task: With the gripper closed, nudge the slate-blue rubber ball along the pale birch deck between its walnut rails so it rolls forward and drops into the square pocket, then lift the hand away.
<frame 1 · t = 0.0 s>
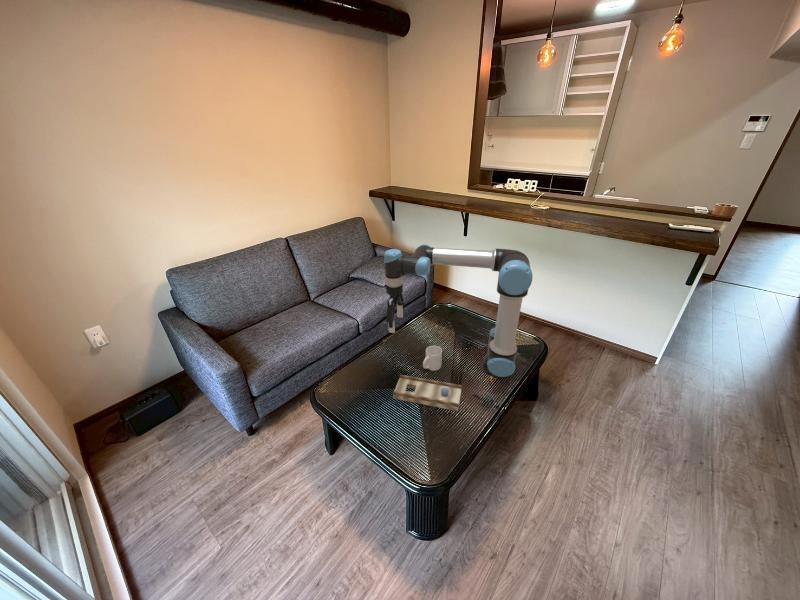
hand: (396, 324, 144), 28 cm above the table, fingers open, 13 cm apart
mug: (431, 367, 158), on the table
deck: (427, 394, 142), on the table
ball: (444, 391, 137), point 4 cm above the table, touching deck
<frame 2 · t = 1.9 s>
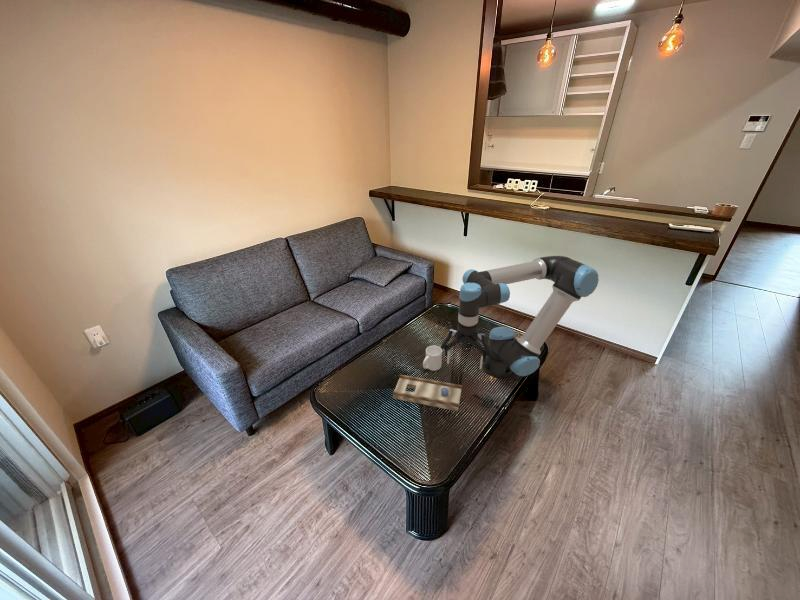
hand: (464, 364, 127), 22 cm above the table, fingers open, 13 cm apart
nothing on the table moved.
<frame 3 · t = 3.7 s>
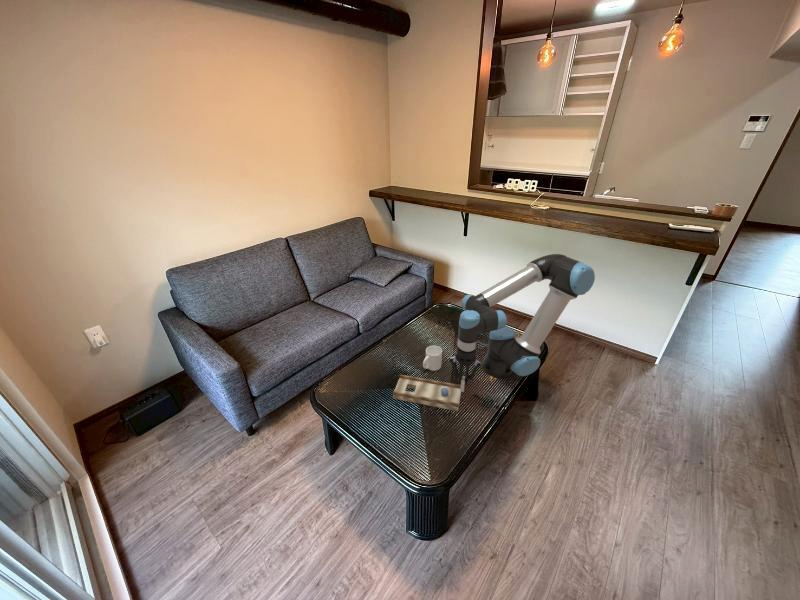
hand: (462, 389, 134), 8 cm above the table, fingers closed
nothing on the table moved.
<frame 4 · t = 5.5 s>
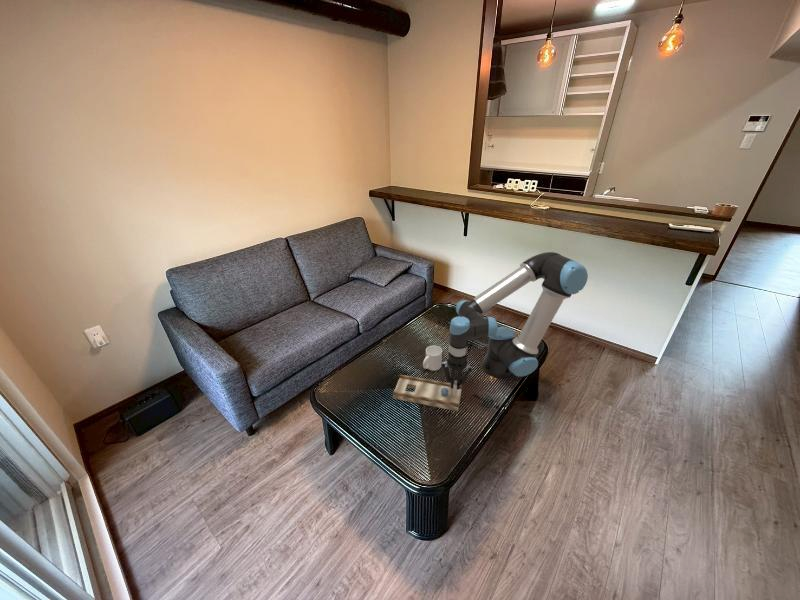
hand: (454, 393, 136), 4 cm above the table, fingers closed
nothing on the table moved.
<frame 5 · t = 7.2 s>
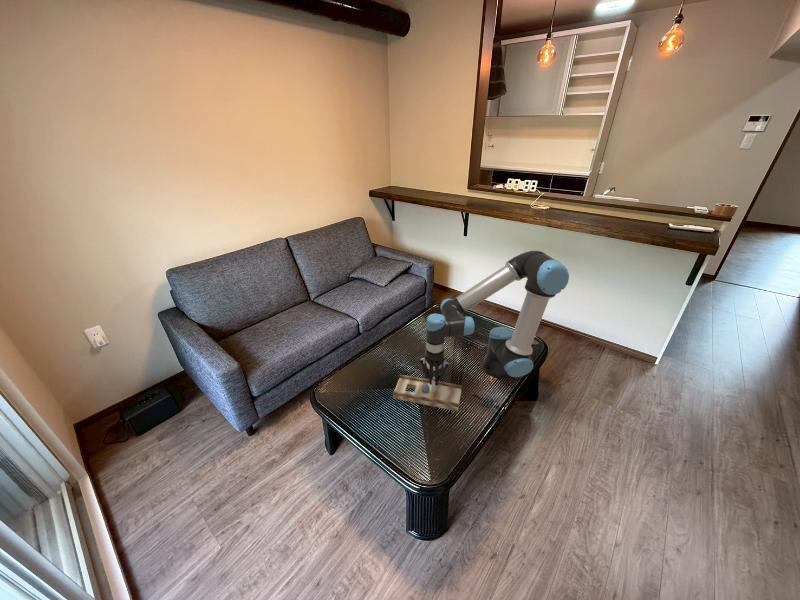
hand: (433, 389, 139), 4 cm above the table, fingers closed
ball: (425, 388, 140), point 4 cm above the table, tilted 73°, touching deck
everything else where it was.
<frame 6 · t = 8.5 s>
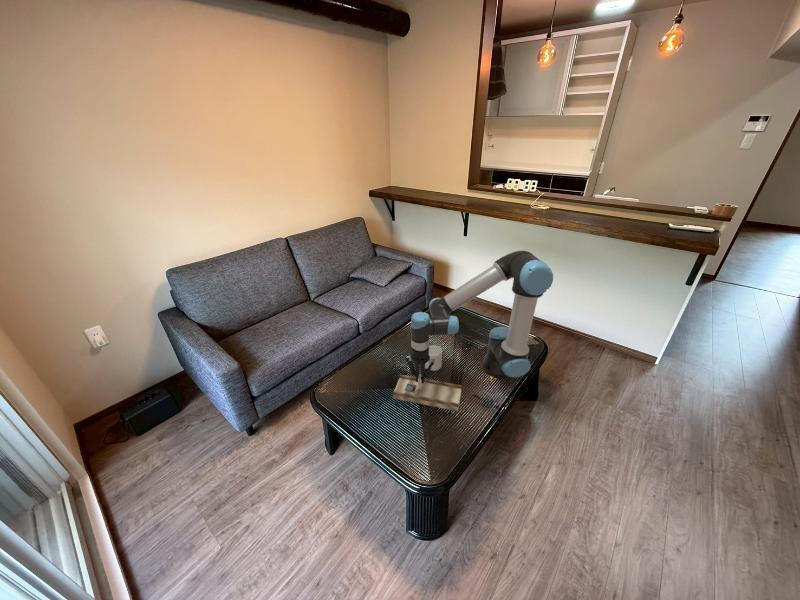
hand: (420, 386, 140), 4 cm above the table, fingers closed
ball: (409, 389, 143), point 2 cm above the table, tilted 107°
everything else where it was.
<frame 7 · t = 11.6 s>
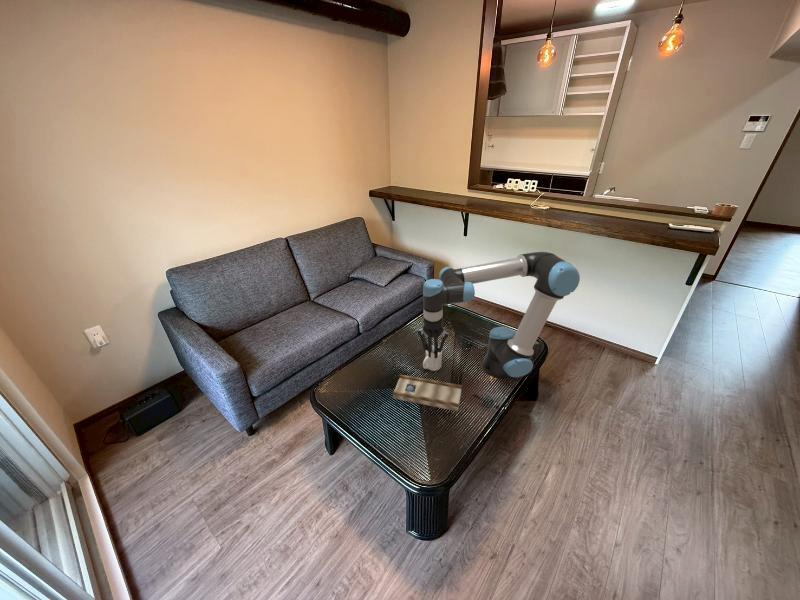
hand: (433, 362, 132), 20 cm above the table, fingers closed
ball: (409, 389, 143), point 2 cm above the table, tilted 113°
everything else where it was.
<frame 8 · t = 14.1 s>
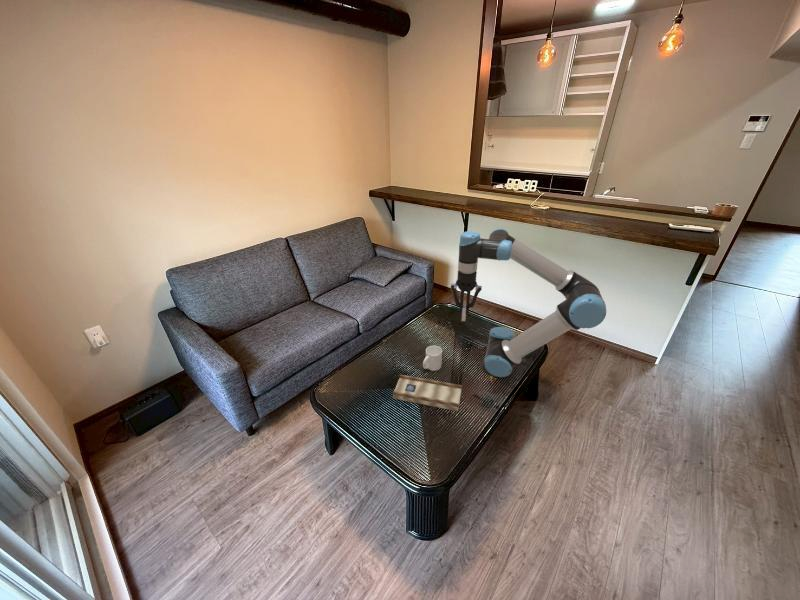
hand: (463, 319, 134), 34 cm above the table, fingers closed
nothing on the table moved.
at the end: ball 0.4 cm from the target spot on the deck, point 1.7 cm above the deck's base; ball touching table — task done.
